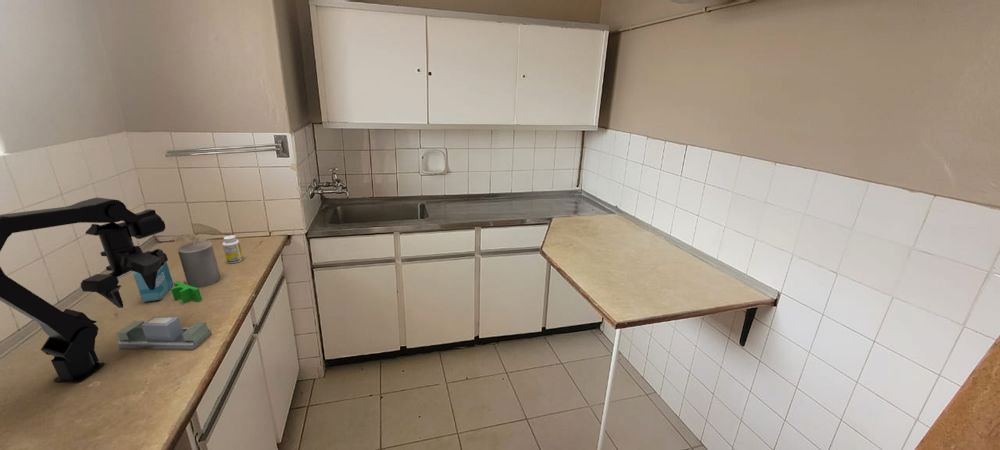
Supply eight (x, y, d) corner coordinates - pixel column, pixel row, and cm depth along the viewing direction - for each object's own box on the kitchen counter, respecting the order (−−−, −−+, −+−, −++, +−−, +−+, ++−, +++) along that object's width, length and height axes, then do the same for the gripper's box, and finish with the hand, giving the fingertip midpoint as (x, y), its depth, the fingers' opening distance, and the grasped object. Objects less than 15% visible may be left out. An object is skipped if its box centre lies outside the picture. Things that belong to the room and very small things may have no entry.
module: (172, 341, 107) (166, 324, 105) (146, 340, 107) (140, 324, 105) (183, 332, 111) (178, 316, 109) (158, 332, 111) (153, 315, 109)
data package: (160, 301, 129) (149, 268, 125) (143, 304, 127) (131, 270, 123) (173, 284, 139) (164, 253, 135) (158, 286, 138) (147, 255, 134)
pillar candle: (187, 279, 142) (175, 241, 137) (220, 272, 148) (210, 235, 143) (188, 291, 135) (176, 251, 130) (222, 282, 141) (211, 244, 135)
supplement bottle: (236, 257, 161) (231, 233, 157) (246, 259, 159) (241, 235, 155) (223, 262, 156) (217, 238, 152) (233, 264, 154) (227, 240, 151)
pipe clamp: (169, 298, 131) (165, 286, 129) (181, 293, 134) (177, 281, 132) (190, 306, 127) (186, 293, 125) (202, 300, 130) (198, 288, 128)
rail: (193, 349, 106) (189, 335, 105) (119, 348, 106) (114, 334, 105) (211, 334, 113) (207, 320, 111) (142, 332, 113) (137, 319, 111)
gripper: (112, 262, 93) (133, 319, 98) (178, 233, 110) (192, 283, 116) (68, 260, 94) (91, 317, 99) (140, 232, 111) (156, 281, 117)
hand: (137, 298), depth 108 cm, fingers open, 9 cm apart
